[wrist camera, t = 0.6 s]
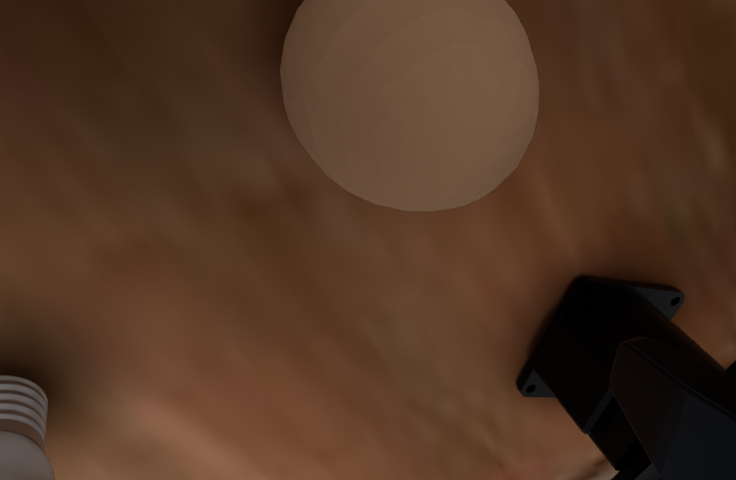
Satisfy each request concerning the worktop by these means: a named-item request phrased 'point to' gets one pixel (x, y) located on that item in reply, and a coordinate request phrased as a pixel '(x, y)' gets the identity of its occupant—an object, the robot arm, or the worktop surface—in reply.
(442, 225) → the worktop surface
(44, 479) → the lightbulb
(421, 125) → the egg
